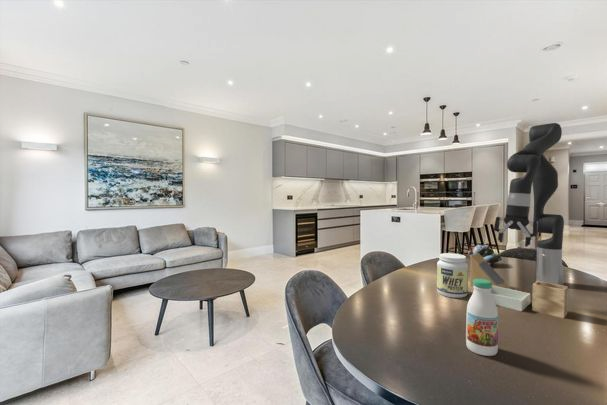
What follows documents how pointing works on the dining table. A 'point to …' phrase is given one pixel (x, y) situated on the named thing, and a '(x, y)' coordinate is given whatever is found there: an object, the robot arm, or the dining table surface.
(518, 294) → the grey crate
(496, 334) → the milk bottle
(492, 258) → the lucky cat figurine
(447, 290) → the supplement tub
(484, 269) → the sandwich container
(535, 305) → the oak crate
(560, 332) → the dining table surface
